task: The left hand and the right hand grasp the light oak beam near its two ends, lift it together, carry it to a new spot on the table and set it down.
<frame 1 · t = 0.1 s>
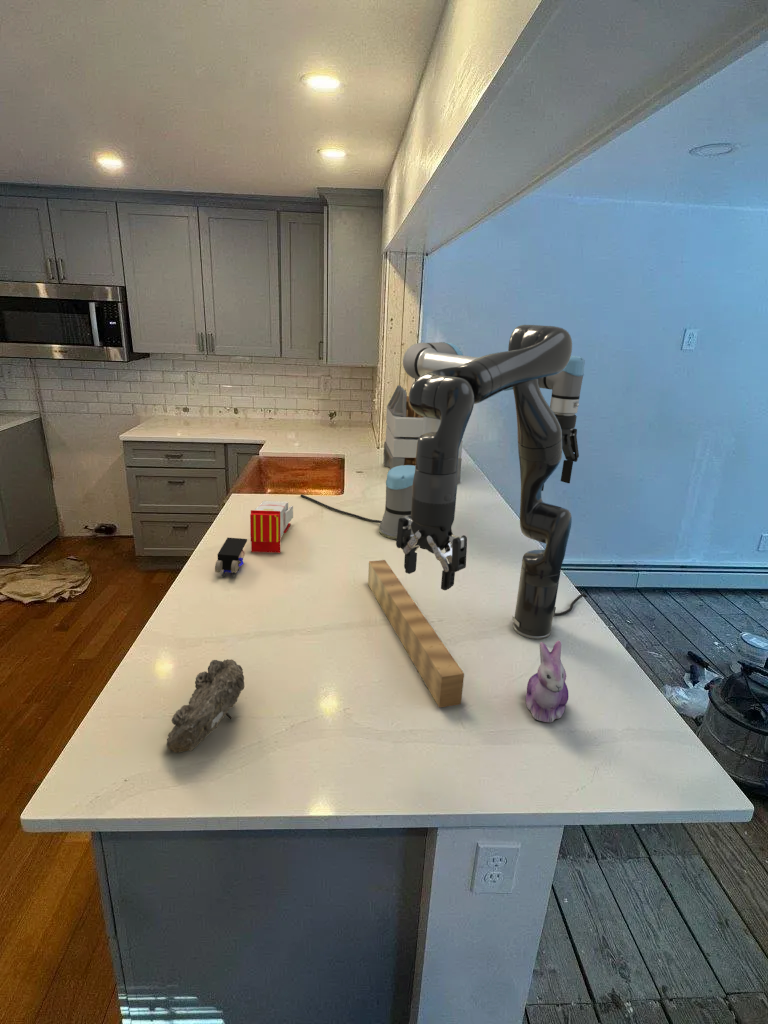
left hand: (552, 485, 166), 28 cm above the counter, tool pointing down, fingers open, 13 cm apart
right hand: (427, 580, 102), 29 cm above the counter, tool pointing down, fingers open, 8 cm apart
toy: (272, 536, 193), on the counter
beam: (406, 634, 139), on the counter
transformer: (419, 473, 275), on the counter
figurine character: (232, 569, 168), on the counter
fossil: (212, 717, 108), on the counter
figurine: (546, 709, 114), on the counter
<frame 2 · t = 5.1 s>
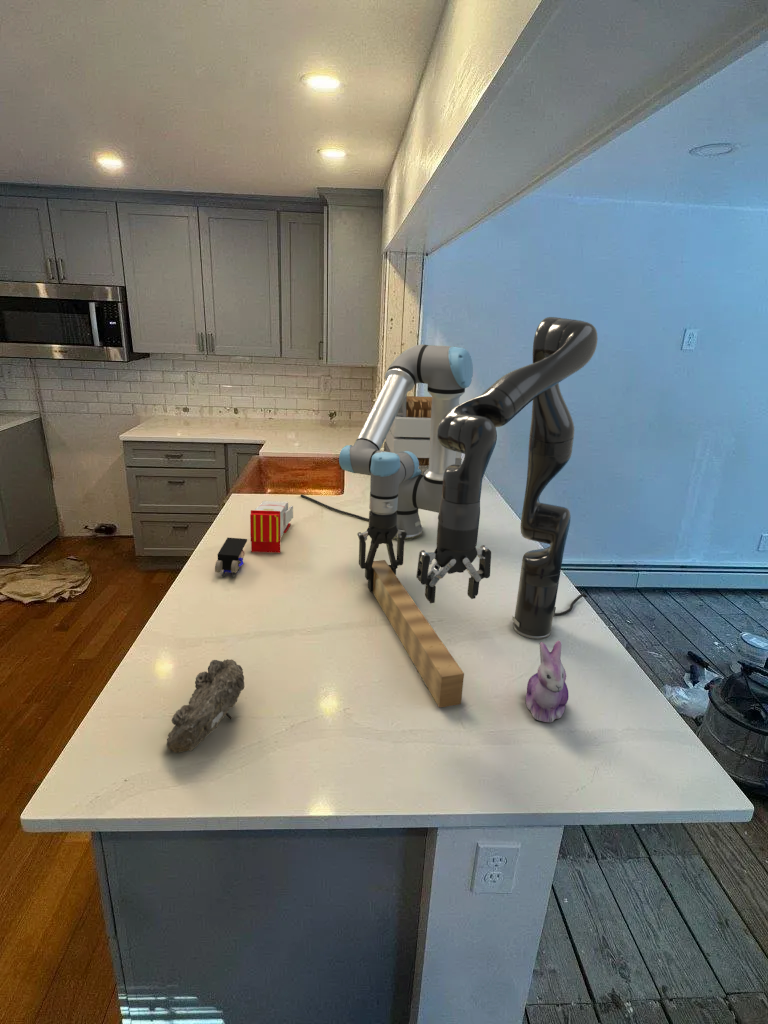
left hand: (379, 588, 159), 1 cm above the counter, tool pointing down, fingers closed on beam, 5 cm apart
right hand: (451, 599, 110), 22 cm above the counter, tool pointing down, fingers open, 8 cm apart
beam: (406, 634, 139), on the counter, touching left hand
everything else where it was.
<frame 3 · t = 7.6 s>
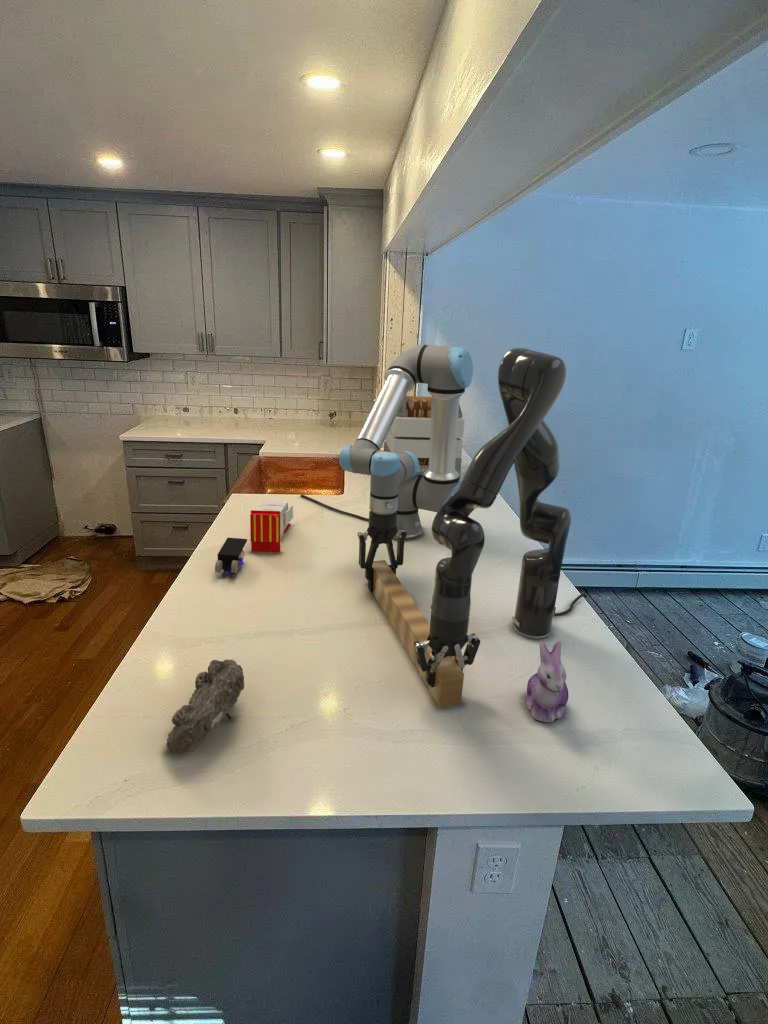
left hand: (379, 588, 159), 1 cm above the counter, tool pointing down, fingers closed on beam, 5 cm apart
right hand: (443, 682, 117), 3 cm above the counter, tool pointing down, fingers closed on beam, 5 cm apart
beam: (406, 634, 139), on the counter, touching left hand, right hand
everything else where it was.
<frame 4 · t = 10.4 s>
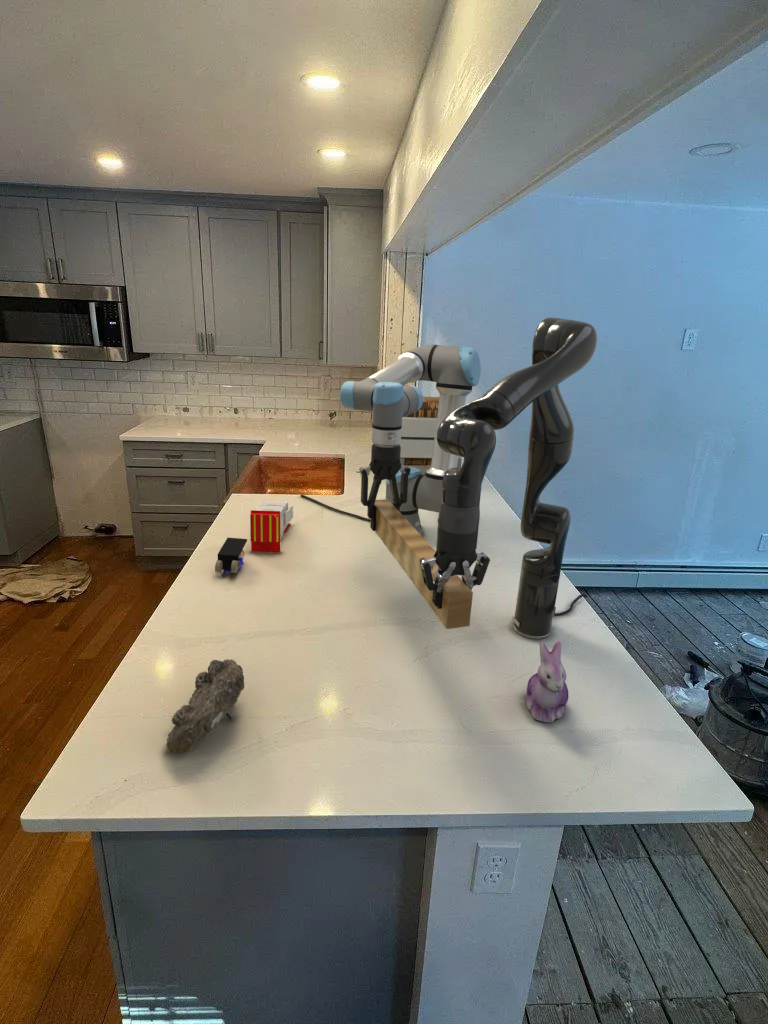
left hand: (382, 528, 153), 19 cm above the counter, tool pointing down, fingers closed on beam, 5 cm apart
right hand: (451, 604, 111), 21 cm above the counter, tool pointing down, fingers closed on beam, 4 cm apart
beam: (411, 566, 133), point 18 cm above the counter, touching left hand, right hand
everything else where it was.
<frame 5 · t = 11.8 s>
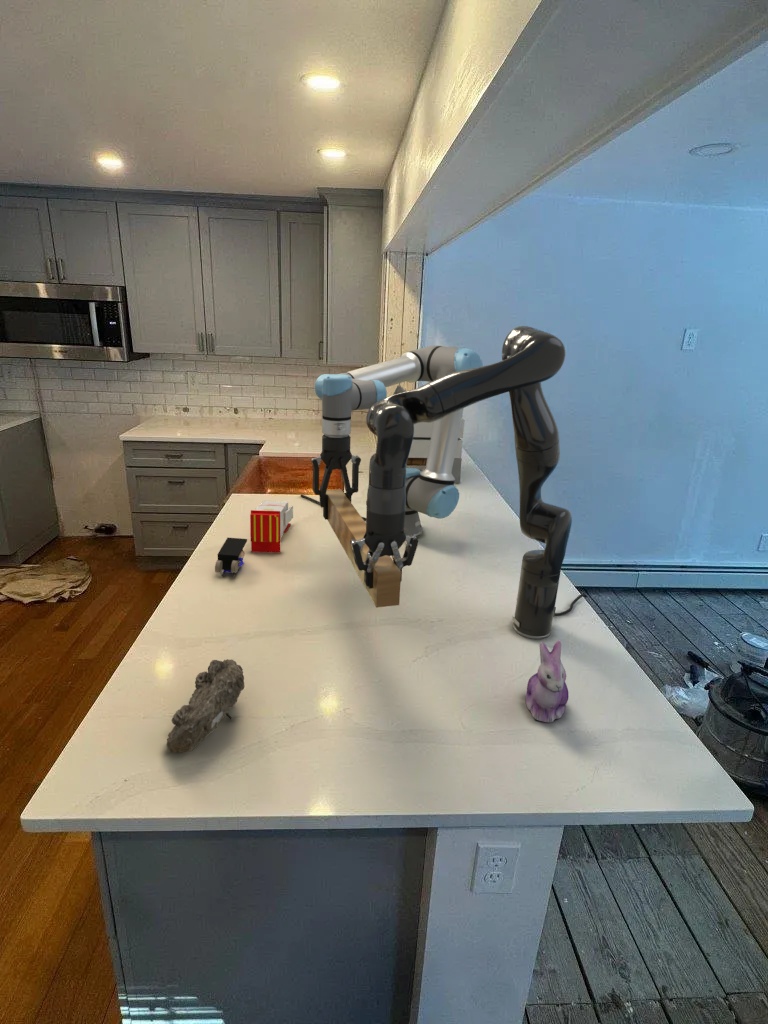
left hand: (335, 516, 158), 19 cm above the counter, tool pointing down, fingers closed on beam, 5 cm apart
right hand: (382, 585, 115), 22 cm above the counter, tool pointing down, fingers closed on beam, 4 cm apart
beam: (355, 551, 137), point 19 cm above the counter, touching left hand, right hand
everything else where it was.
when the left hand's fingers open (2 cm above the counter, at t = 16.0 s): beam drops 1 cm, on the counter.
when the right hand's fingers open (4 cm above the counter, at t = 16.2 s): beam stays where it is, on the counter.
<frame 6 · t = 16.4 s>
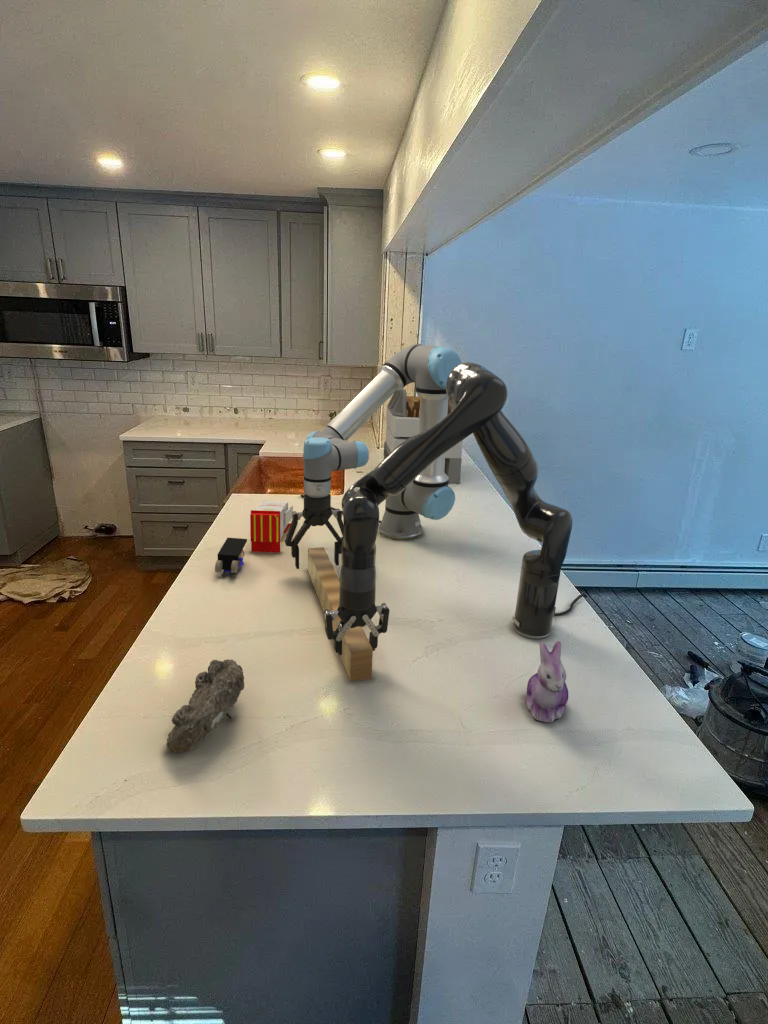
left hand: (317, 565, 165), 3 cm above the counter, tool pointing down, fingers open, 11 cm apart
right hand: (355, 650, 123), 4 cm above the counter, tool pointing down, fingers open, 6 cm apart
beam: (334, 615, 145), on the counter
everything else where it was.
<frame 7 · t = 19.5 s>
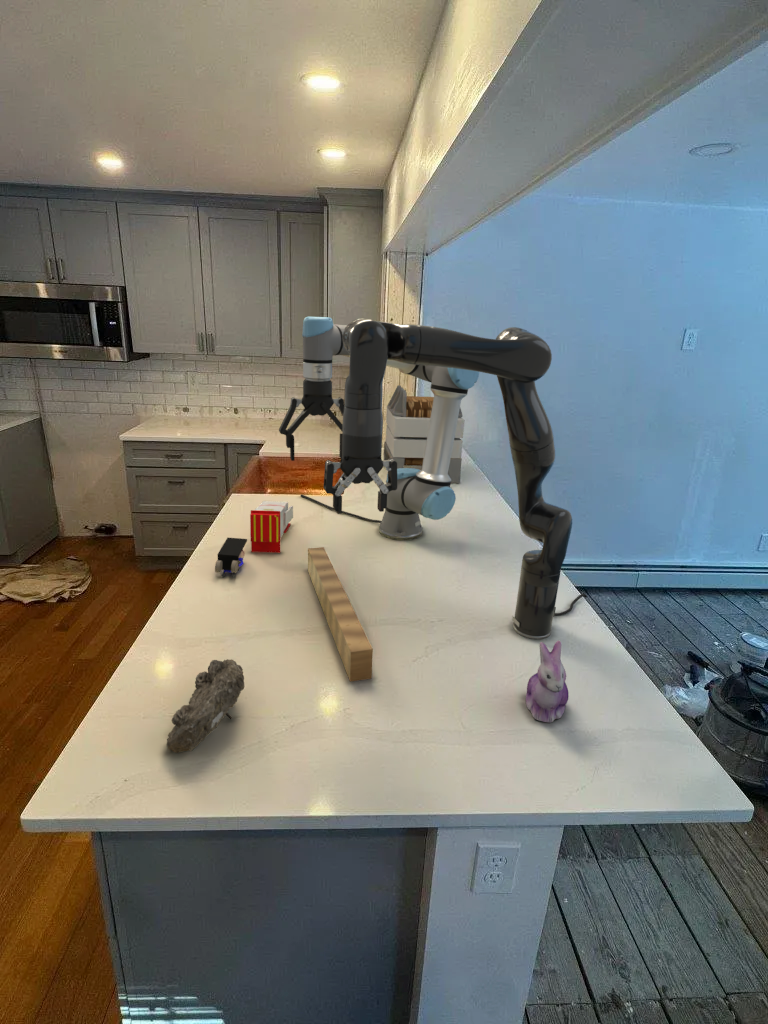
left hand: (317, 458, 155), 35 cm above the counter, tool pointing down, fingers open, 13 cm apart
right hand: (360, 511, 112), 37 cm above the counter, tool pointing down, fingers open, 8 cm apart
nothing on the counter moved.
at the end: beam inside the target area (0.5 cm from its centre), on the counter; beam tilted 0°; beam never tilted more than 2° during the clip; both hands held the beam at the same time; the left hand is holding nothing; the right hand is holding nothing; beam at rest at the end (0.0 cm/s) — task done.
